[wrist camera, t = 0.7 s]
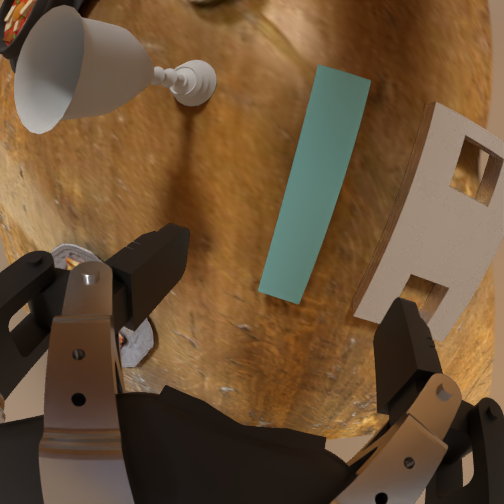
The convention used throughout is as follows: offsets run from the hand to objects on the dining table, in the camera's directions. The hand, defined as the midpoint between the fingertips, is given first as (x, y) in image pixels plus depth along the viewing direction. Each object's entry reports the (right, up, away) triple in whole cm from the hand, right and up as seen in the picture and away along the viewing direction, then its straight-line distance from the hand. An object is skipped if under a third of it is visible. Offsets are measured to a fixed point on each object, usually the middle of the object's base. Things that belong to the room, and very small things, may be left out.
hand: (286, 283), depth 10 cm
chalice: (-7, +18, +14) cm, 24 cm away
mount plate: (+18, +3, +14) cm, 23 cm away
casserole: (-31, +38, +12) cm, 50 cm away
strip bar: (+5, +8, +16) cm, 18 cm away
